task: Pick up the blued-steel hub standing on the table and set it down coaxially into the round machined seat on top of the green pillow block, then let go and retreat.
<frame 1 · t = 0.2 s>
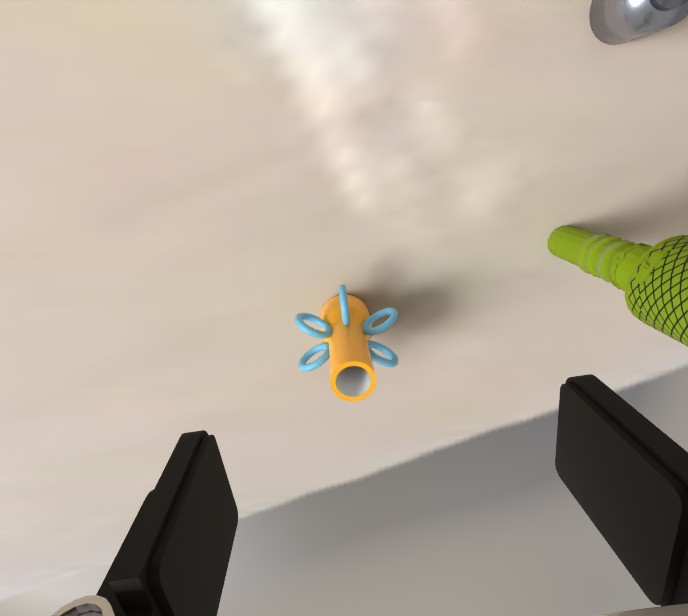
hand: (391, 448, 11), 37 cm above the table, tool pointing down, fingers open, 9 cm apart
cylinder: (344, 315, 50), on the table
microphone: (560, 239, 48), on the table
hub: (620, 8, 39), on the table
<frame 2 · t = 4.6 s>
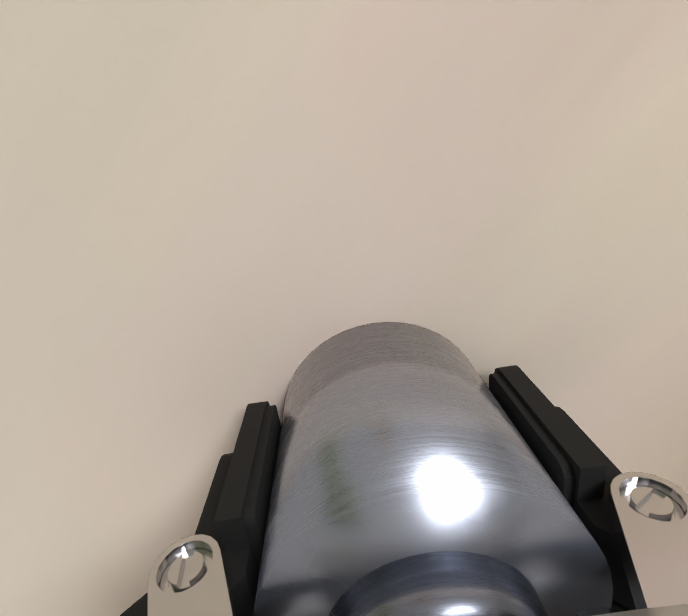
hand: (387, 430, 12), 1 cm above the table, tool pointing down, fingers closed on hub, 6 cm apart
hub: (383, 412, 12), on the table, touching gripper
when the fingers open (6 cm above the table, at t = 10.3 s): hub drops 2 cm, resting on pillow block.
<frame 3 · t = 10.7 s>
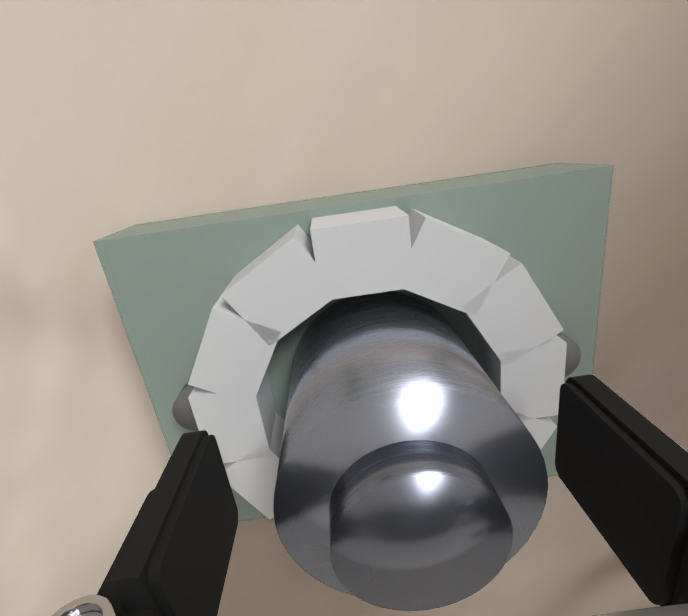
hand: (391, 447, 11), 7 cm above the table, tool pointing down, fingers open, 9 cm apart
pillow block: (365, 337, 17), on the table
hub: (377, 370, 14), point 3 cm above the table, touching pillow block
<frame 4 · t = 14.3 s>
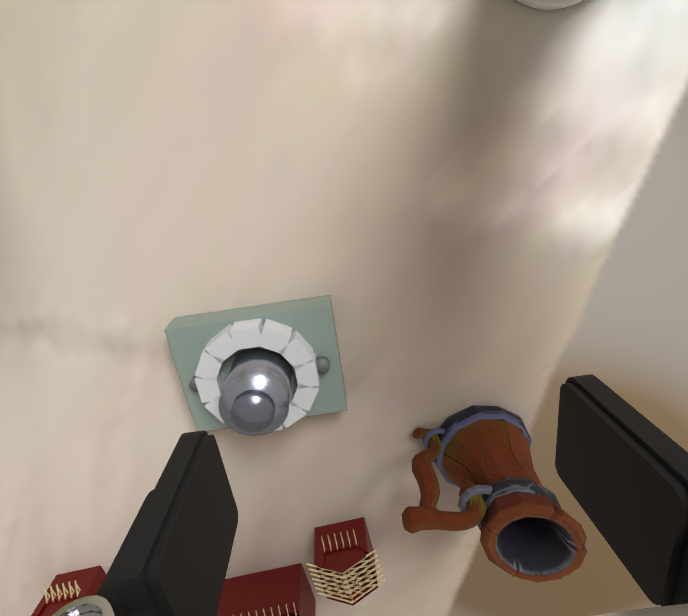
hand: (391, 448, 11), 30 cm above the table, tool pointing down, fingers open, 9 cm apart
pillow block: (264, 358, 44), on the table
mug: (453, 435, 49), on the table
toy houses: (224, 583, 56), on the table
hub: (261, 371, 41), point 3 cm above the table, touching pillow block
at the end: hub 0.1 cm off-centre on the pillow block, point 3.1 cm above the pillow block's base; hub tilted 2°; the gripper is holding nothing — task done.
